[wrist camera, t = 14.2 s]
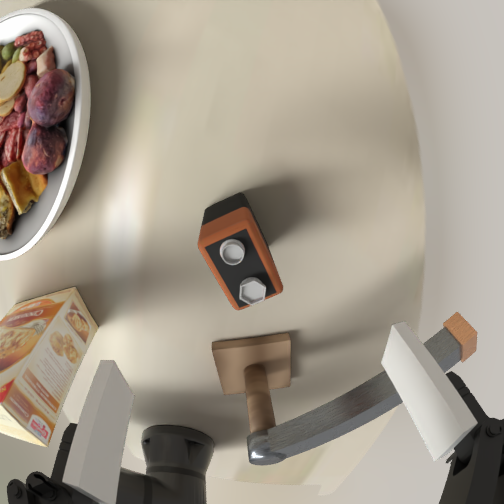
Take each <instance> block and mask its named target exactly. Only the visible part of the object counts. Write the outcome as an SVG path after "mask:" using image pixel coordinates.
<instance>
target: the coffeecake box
mask: <svg viewBox="0 0 504 504" xmlns="http://www.w3.org/2000/svg"><path fill="white" fill-rule="evenodd" d="M97 330H98V326H97V324H96V323H95V321H94V319H93V318H92V316H91V315H90V313H89V311H88V310H87V307H86V305H85V303H84V301H83V299H82V298H81V296H80V294H79V292H78V290H77V288H76V287H72V288H69V289H65V290H61V291H58V292H55V293H51V294H48V295H44V296H41V297H38V298H34V299H31V300H28V301H24V302H21V303H18V304H15V305H14V306H13V307H12V309H11V310H10V311H9V312H8V313H7V314H6V316H5V317H4V318H3V319H2V321H1V322H0V432H1V433H3V434H6V435H9V436H12V437H15V438H18V439H21V440H24V441H27V442H30V443H34V444H37V445H41V446H45V447H49V442H50V439H51V436H52V433H53V430H54V428H55V425H56V422H57V420H58V417H59V414H60V412H61V409H62V407H63V404H64V402H65V399H66V397H67V394H68V392H69V389H70V387H71V385H72V382H73V380H74V378H75V375H76V373H77V371H78V369H79V367H80V365H81V362H82V360H83V358H84V356H85V354H86V352H87V350H88V347H89V345H90V343H91V341H92V339H93V337H94V335H95V334H96V332H97Z"/></svg>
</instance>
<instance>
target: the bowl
mask: <svg viewBox="0 0 504 504" xmlns="http://www.w3.org/2000/svg"><path fill="white" fill-rule="evenodd" d="M90 108H91V88H90V77H89V70H88V65H87V60H86V57H85V53H84V50H83V48H82V45H81V43H80V41H79V39H78V37H77V35H76V34H75V32H74V31H73V29H72V28H71V27H70V26H69V24H68V23H67V22H65V21H64V20H63V19H62V18H60V17H59V16H58V15H56V14H54V13H52V12H50V11H48V10H45V9H40V8H25V9H21V10H17V11H14V12H11V13H9V14H7V15H5V16H3V17H1V18H0V260H9V259H13V258H16V257H18V256H20V255H22V254H24V253H26V252H27V251H28V250H30V249H31V248H32V247H33V246H35V245H36V244H37V243H38V242H39V241H40V240H41V239H42V238H43V237H44V236H45V235H46V234H47V233H48V231H49V230H50V229H51V228H52V226H53V225H54V224H55V222H56V221H57V219H58V217H59V216H60V214H61V213H62V211H63V209H64V207H65V205H66V203H67V201H68V199H69V197H70V195H71V192H72V190H73V188H74V185H75V182H76V179H77V177H78V174H79V170H80V167H81V164H82V160H83V156H84V152H85V147H86V142H87V136H88V130H89V121H90Z"/></svg>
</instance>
